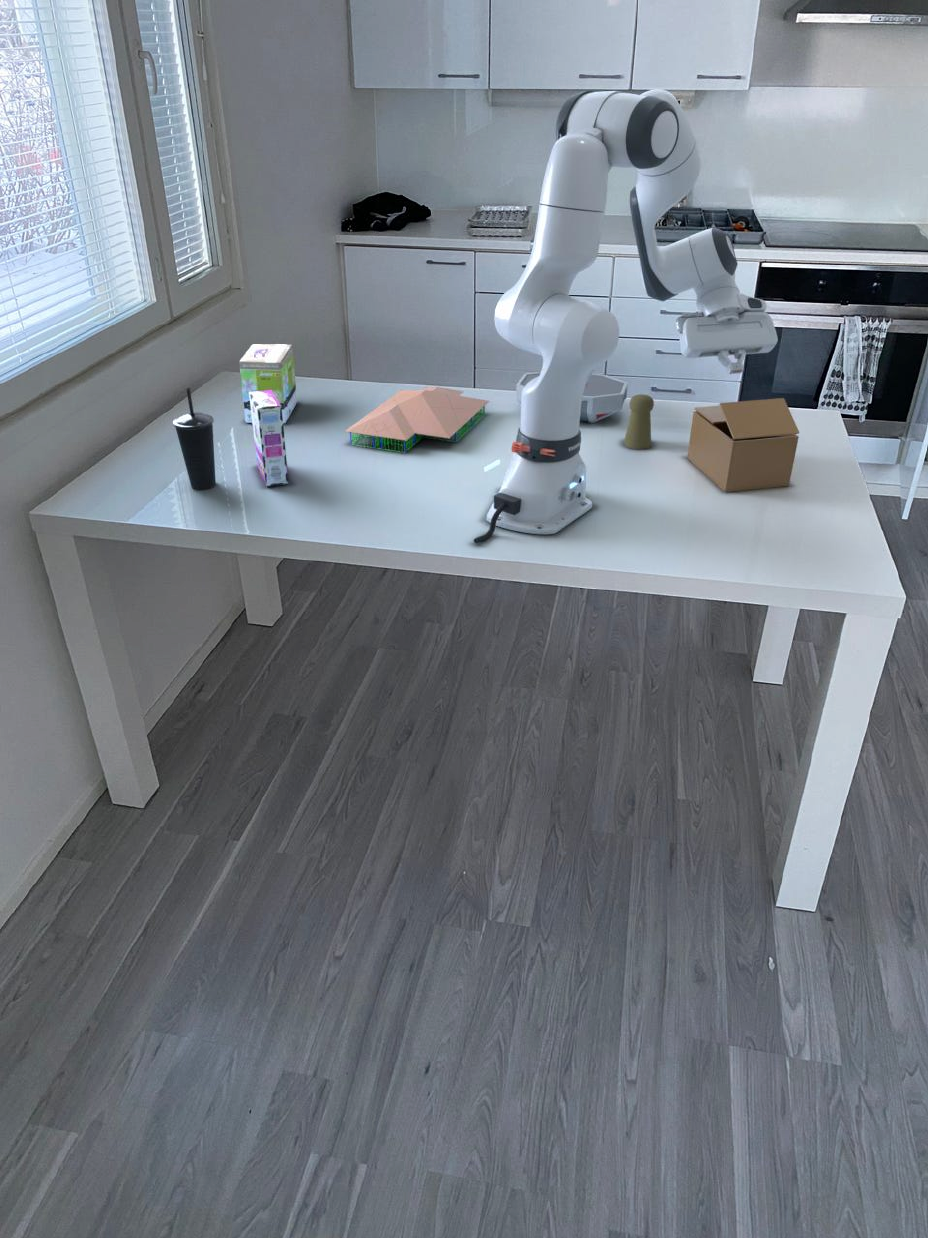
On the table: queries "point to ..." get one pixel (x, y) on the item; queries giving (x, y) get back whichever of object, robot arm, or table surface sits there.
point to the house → (419, 416)
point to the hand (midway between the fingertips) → (735, 372)
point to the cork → (639, 422)
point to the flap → (758, 418)
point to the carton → (739, 454)
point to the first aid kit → (592, 395)
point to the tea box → (269, 375)
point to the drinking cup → (197, 446)
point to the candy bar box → (269, 437)
